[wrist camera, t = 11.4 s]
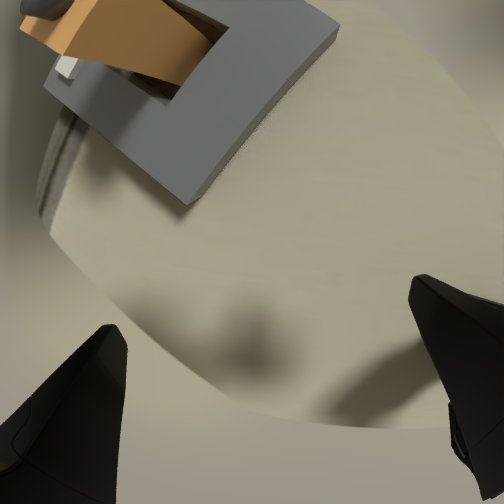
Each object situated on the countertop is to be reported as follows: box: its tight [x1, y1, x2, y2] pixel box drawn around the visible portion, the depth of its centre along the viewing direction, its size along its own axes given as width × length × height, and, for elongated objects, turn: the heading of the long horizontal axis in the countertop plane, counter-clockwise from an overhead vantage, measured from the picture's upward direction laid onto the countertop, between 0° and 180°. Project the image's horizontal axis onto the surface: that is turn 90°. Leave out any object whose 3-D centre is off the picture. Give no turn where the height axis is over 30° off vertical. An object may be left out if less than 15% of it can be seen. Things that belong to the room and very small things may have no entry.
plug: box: [20, 0, 214, 86], centre depth 10 cm, size 4×4×13 cm
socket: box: [43, 0, 340, 205], centre depth 14 cm, size 16×14×4 cm
